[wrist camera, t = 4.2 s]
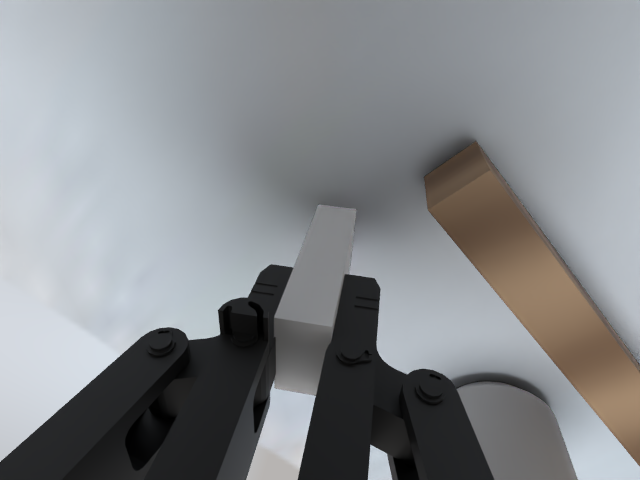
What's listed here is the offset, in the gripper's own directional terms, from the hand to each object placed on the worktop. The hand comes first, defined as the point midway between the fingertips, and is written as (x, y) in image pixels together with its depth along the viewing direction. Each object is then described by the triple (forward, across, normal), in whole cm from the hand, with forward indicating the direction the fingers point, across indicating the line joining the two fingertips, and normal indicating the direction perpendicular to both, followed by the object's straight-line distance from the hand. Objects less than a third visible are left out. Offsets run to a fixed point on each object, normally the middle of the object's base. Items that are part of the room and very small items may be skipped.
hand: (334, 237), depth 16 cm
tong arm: (+1, +10, -2) cm, 10 cm away
